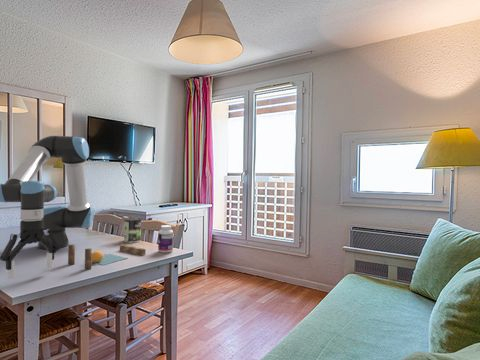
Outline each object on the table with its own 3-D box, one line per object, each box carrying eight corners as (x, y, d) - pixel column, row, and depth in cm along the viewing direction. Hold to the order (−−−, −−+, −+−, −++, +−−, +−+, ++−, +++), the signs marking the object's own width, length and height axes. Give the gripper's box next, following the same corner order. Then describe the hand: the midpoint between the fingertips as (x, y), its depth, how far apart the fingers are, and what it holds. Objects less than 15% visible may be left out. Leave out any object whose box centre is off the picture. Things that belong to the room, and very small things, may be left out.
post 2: (83, 269, 131) (83, 249, 130) (88, 267, 133) (89, 248, 133) (87, 270, 129) (87, 250, 129) (92, 268, 132) (92, 248, 131)
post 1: (66, 264, 137) (67, 245, 136) (72, 263, 139) (72, 244, 139) (70, 265, 135) (70, 246, 135) (75, 264, 138) (76, 245, 138)
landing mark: (84, 260, 144) (84, 260, 144) (109, 254, 156) (109, 253, 156) (102, 265, 137) (102, 264, 137) (127, 258, 149) (127, 258, 149)
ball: (93, 247, 142) (100, 253, 146) (85, 257, 139) (93, 263, 143) (100, 249, 139) (107, 255, 143) (92, 259, 136) (100, 265, 140)
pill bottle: (159, 249, 168) (160, 224, 168) (173, 249, 169) (174, 224, 169) (156, 253, 160) (157, 227, 160) (171, 253, 161) (172, 227, 161)
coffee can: (143, 239, 192) (144, 218, 191) (135, 243, 182) (135, 220, 181) (129, 238, 194) (130, 217, 193) (120, 242, 184) (120, 219, 183)
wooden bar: (119, 250, 164) (119, 245, 164) (122, 249, 166) (122, 244, 166) (142, 255, 155) (142, 249, 155) (145, 254, 157) (145, 249, 157)
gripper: (-2, 224, 104) (-3, 284, 104) (68, 217, 125) (67, 266, 126) (-11, 222, 107) (-12, 280, 107) (58, 215, 129) (58, 263, 129)
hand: (31, 272), depth 117 cm, fingers open, 13 cm apart
